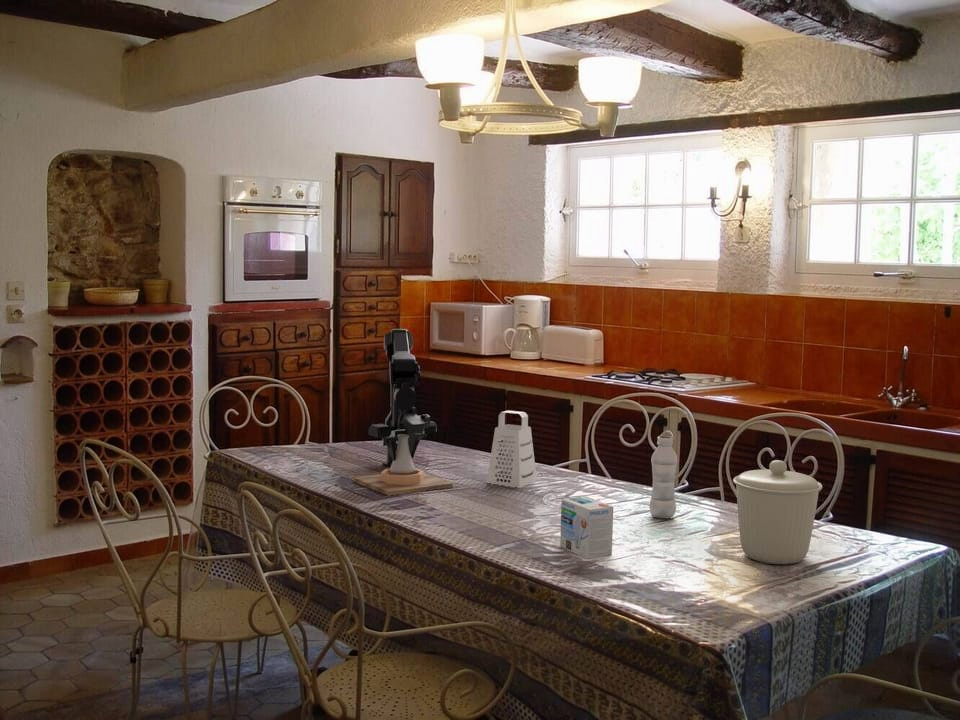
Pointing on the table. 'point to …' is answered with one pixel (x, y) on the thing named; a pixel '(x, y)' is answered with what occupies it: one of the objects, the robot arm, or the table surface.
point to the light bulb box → (586, 527)
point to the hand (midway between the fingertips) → (402, 459)
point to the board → (394, 489)
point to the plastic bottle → (663, 479)
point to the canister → (776, 513)
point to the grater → (512, 453)
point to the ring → (402, 477)
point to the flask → (403, 457)
